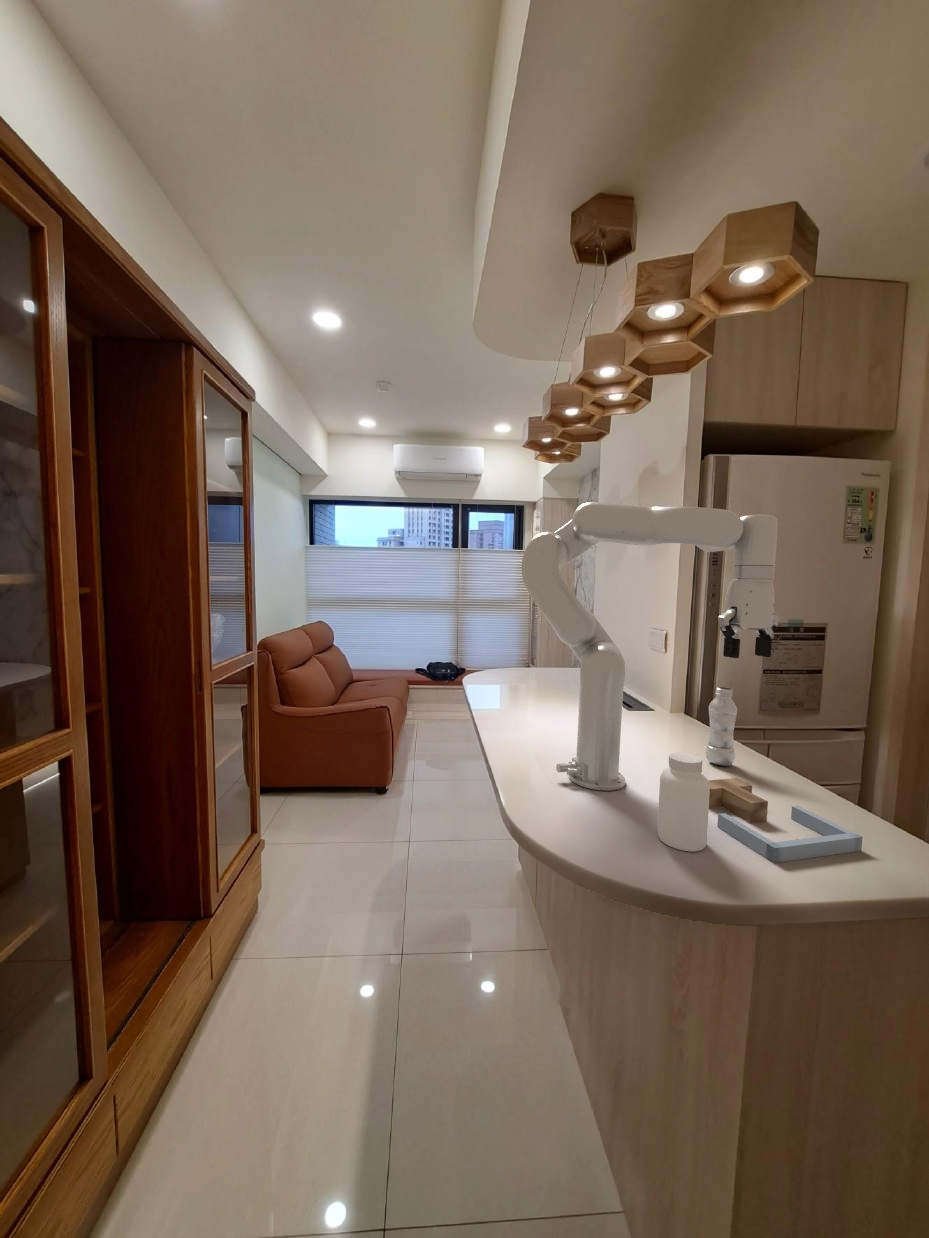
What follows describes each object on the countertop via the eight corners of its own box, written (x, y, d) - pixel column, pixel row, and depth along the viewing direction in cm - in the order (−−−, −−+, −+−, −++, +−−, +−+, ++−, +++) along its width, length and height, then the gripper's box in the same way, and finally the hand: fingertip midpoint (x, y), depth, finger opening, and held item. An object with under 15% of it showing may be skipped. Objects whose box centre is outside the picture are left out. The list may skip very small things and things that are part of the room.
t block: (734, 824, 90) (736, 804, 89) (693, 799, 100) (694, 781, 100) (780, 819, 92) (782, 799, 92) (735, 795, 103) (736, 777, 103)
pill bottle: (649, 828, 87) (654, 748, 86) (693, 830, 87) (699, 750, 86) (666, 851, 79) (672, 764, 78) (715, 854, 79) (721, 767, 78)
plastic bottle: (738, 770, 118) (743, 691, 117) (709, 767, 120) (714, 689, 119) (729, 761, 125) (734, 686, 124) (701, 758, 126) (706, 684, 125)
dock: (773, 862, 77) (774, 848, 77) (717, 826, 89) (718, 813, 88) (861, 850, 82) (862, 836, 82) (797, 817, 93) (798, 805, 93)
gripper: (762, 577, 105) (757, 653, 106) (707, 573, 98) (702, 655, 99) (798, 577, 98) (791, 658, 99) (741, 573, 91) (735, 660, 92)
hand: (747, 656), depth 99 cm, fingers open, 9 cm apart
